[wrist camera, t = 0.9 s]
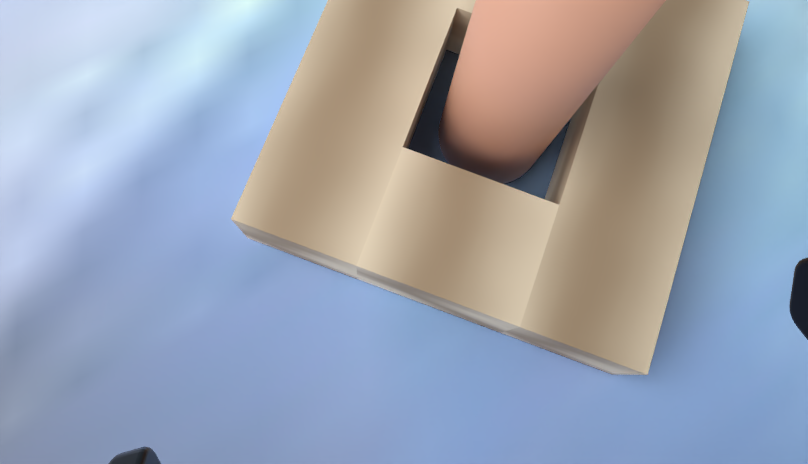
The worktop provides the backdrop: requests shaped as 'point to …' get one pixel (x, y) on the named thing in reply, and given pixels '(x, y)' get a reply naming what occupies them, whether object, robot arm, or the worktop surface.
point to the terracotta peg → (529, 76)
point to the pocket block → (489, 200)
